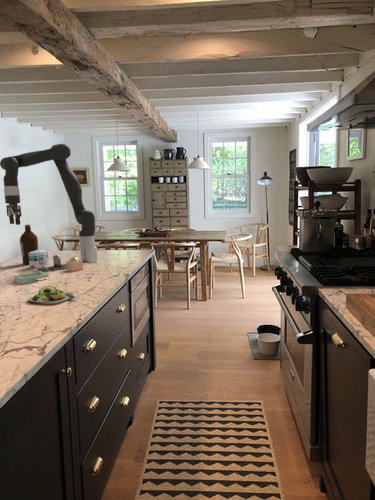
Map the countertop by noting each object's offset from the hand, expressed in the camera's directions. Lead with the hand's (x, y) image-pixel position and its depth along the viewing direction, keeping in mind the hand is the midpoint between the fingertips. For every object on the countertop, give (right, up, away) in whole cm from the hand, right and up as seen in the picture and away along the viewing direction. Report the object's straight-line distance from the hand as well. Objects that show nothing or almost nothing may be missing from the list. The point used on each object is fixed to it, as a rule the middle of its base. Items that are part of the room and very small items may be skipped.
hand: (15, 224), depth 212 cm
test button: (+14, -22, +3) cm, 26 cm away
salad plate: (+36, -36, -46) cm, 69 cm away
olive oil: (-6, -23, +36) cm, 44 cm away
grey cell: (+20, -25, +10) cm, 34 cm away
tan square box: (+31, -27, +6) cm, 42 cm away
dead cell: (+31, -26, +6) cm, 41 cm away
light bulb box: (+7, -26, +18) cm, 32 cm away
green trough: (+14, -30, -11) cm, 35 cm away
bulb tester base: (+17, -27, +8) cm, 33 cm away
